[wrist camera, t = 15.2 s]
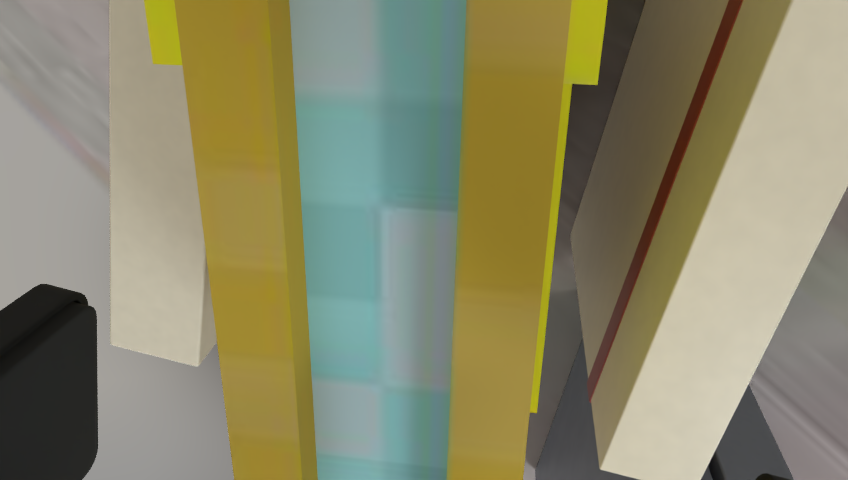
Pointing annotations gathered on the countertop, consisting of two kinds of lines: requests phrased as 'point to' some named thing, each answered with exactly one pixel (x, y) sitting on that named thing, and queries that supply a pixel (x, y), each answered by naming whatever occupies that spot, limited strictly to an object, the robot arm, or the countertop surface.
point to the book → (379, 222)
